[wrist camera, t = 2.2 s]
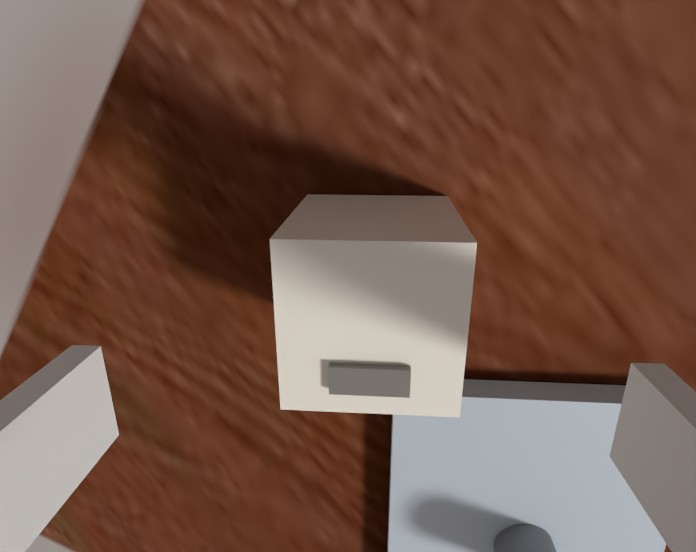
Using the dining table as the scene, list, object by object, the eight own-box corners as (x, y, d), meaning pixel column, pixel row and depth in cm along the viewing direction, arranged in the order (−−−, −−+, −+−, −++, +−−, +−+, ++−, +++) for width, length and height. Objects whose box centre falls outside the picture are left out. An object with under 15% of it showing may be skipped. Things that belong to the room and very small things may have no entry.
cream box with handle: (307, 194, 20) (267, 241, 13) (447, 196, 20) (479, 245, 13) (311, 319, 22) (278, 415, 16) (437, 322, 22) (461, 423, 15)
